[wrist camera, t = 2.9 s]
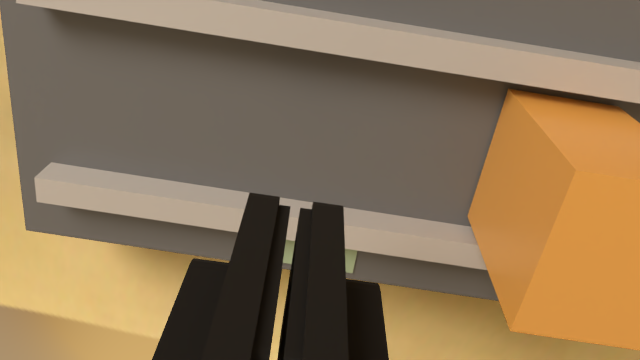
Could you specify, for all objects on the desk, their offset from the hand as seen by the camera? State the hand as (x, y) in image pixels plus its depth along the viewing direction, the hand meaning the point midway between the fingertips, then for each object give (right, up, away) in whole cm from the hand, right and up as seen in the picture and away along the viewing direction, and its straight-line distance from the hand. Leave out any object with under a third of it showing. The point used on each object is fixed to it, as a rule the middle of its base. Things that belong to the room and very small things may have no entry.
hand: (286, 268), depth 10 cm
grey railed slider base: (+7, +4, +9) cm, 12 cm away
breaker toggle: (+7, +2, +6) cm, 9 cm away
